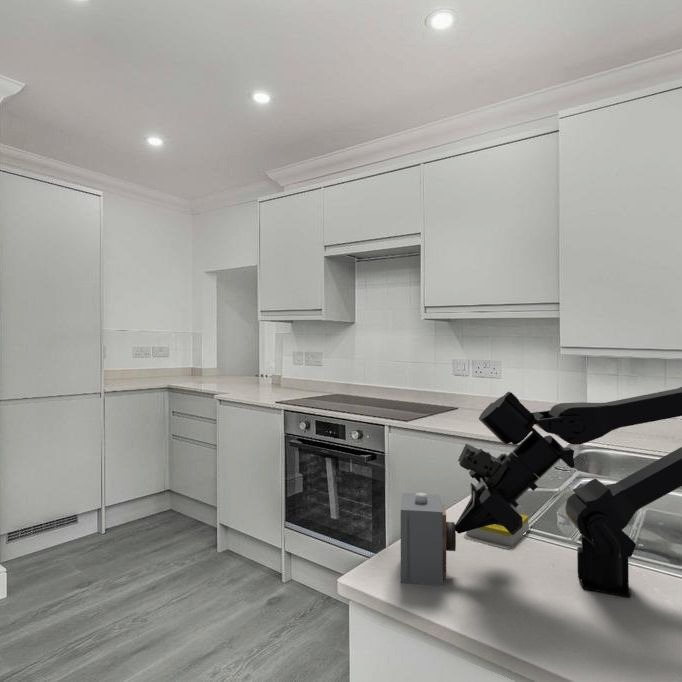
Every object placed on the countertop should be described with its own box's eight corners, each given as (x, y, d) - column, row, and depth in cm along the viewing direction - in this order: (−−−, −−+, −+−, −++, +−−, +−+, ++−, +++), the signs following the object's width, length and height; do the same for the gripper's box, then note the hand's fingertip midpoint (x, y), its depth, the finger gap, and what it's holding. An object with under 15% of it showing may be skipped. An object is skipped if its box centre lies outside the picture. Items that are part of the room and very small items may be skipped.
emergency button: (461, 517, 93) (489, 498, 105) (461, 540, 93) (489, 518, 105) (509, 528, 88) (533, 507, 99) (509, 552, 88) (533, 528, 99)
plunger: (453, 564, 81) (453, 505, 81) (456, 578, 76) (455, 515, 76) (414, 561, 82) (414, 503, 82) (414, 575, 77) (414, 513, 77)
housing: (440, 560, 83) (439, 487, 83) (442, 585, 75) (442, 504, 75) (402, 557, 84) (402, 486, 84) (400, 582, 76) (400, 502, 76)
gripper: (480, 420, 87) (420, 479, 89) (497, 440, 69) (420, 514, 70) (526, 464, 86) (464, 523, 87) (556, 497, 67) (476, 571, 69)
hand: (456, 530), depth 79 cm, fingers closed, pressing on plunger
